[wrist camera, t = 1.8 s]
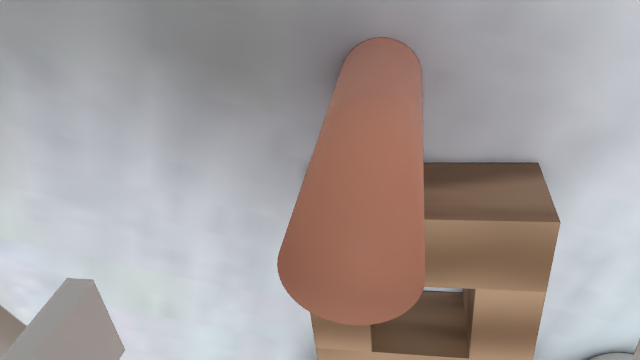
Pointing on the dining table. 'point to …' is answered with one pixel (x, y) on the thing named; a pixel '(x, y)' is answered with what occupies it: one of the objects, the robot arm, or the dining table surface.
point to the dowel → (363, 195)
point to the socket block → (468, 271)
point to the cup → (613, 356)
